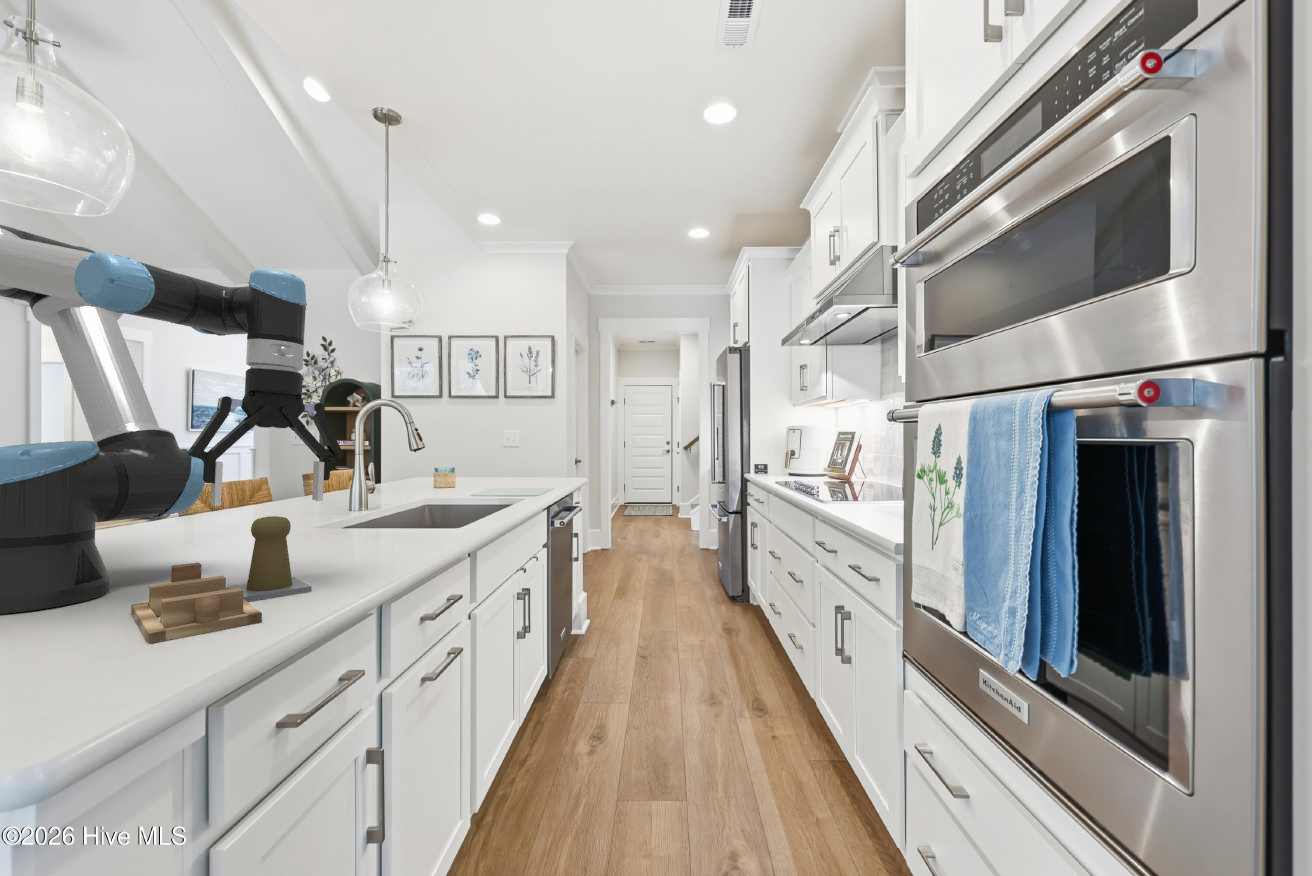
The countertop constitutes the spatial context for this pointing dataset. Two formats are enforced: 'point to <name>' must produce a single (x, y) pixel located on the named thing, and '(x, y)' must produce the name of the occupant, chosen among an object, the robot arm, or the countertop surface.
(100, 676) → the countertop surface
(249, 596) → the slate coaster
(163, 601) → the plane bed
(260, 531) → the cork
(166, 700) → the countertop surface
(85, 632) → the countertop surface
